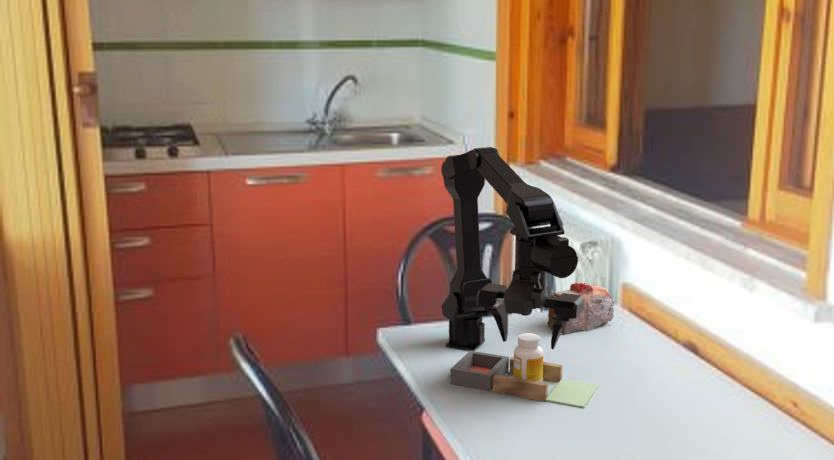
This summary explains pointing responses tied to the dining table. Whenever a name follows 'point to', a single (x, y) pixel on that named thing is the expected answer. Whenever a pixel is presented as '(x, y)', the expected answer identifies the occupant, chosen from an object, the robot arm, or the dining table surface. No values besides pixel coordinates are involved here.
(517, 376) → the supplement bottle
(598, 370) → the dining table surface
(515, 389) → the walnut trough
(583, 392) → the pad
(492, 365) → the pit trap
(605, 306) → the food item
